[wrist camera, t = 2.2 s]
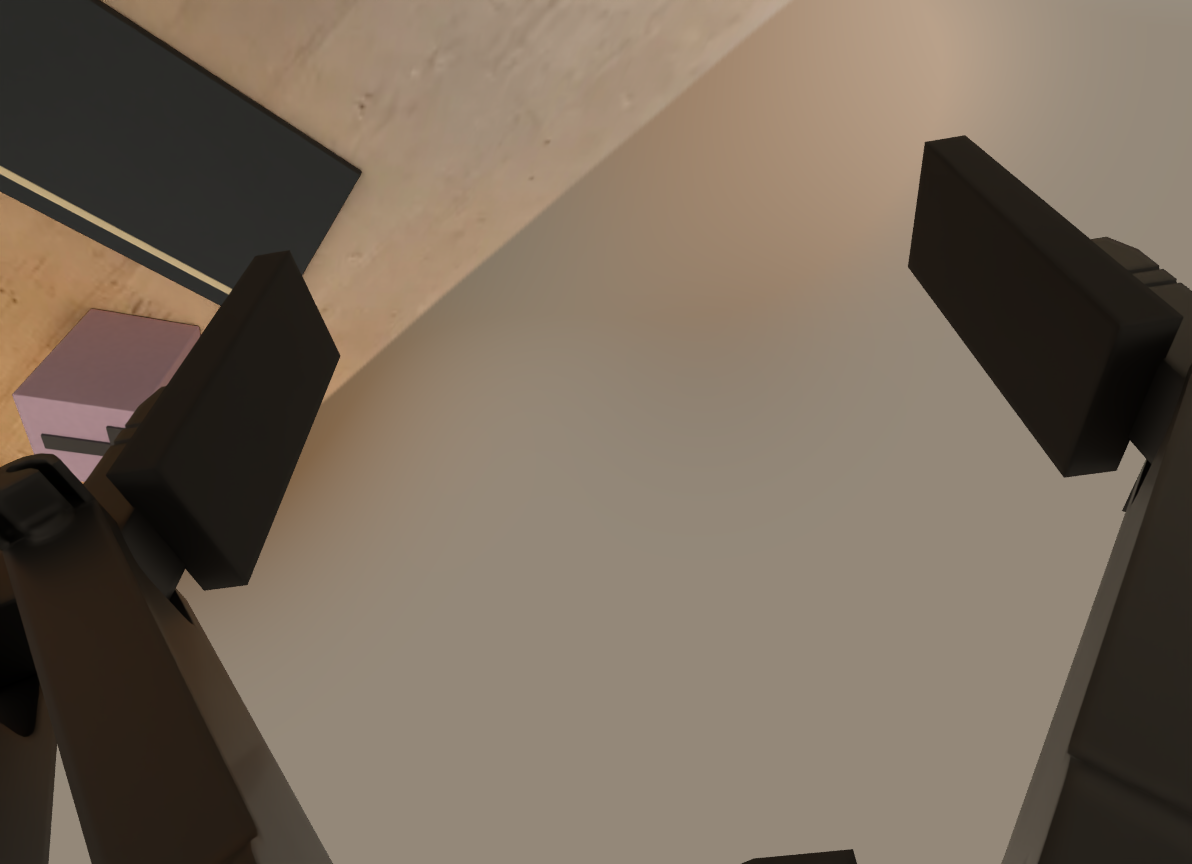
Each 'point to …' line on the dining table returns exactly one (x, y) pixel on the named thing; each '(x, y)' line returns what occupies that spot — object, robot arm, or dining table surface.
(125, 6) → the dining table surface
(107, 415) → the letter T
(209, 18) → the dining table surface
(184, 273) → the word board
